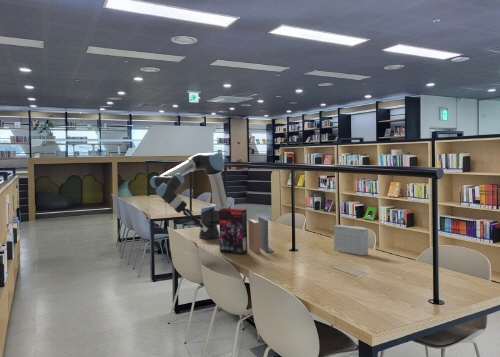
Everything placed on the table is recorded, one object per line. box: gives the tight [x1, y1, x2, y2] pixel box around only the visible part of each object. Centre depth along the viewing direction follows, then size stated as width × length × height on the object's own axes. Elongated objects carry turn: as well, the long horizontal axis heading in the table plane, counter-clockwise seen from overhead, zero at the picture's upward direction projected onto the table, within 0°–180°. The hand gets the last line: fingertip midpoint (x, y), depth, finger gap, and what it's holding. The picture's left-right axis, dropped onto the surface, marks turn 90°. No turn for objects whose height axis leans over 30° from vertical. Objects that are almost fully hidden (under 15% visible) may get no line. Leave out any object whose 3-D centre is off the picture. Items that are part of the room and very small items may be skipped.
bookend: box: [257, 216, 275, 253], centre depth 255 cm, size 16×5×20 cm, turn 16°
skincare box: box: [333, 224, 369, 256], centre depth 244 cm, size 21×6×16 cm, turn 47°
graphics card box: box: [219, 208, 248, 255], centre depth 249 cm, size 17×7×27 cm, turn 62°
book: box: [247, 218, 261, 254], centre depth 253 cm, size 13×4×19 cm, turn 16°
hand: (206, 230), depth 243 cm, fingers closed
